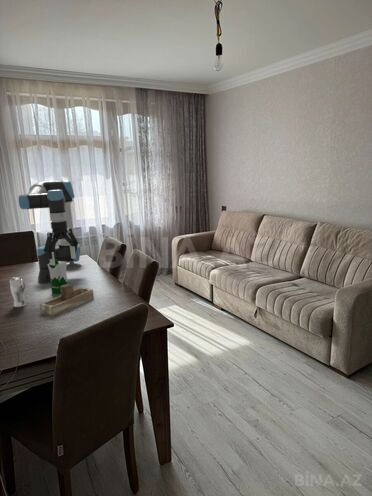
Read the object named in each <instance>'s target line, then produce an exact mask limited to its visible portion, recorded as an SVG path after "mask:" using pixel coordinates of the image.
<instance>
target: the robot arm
mask: <svg viewBox="0 0 372 496" xmlns="http://www.w3.org/2000/svg"><path fill="white" fill-rule="evenodd" d="M74 199H75V193H74V189H73V184H72V182H71V181H70V180H69V179H55V180H43V181H39V182H36V183H34V184H32V185H31V186H30V188H29V191H28V193H27V194H25V193H24V194H19V195H18V205H19V208H20V209H21V210H34V209H35V210H36V209H48V211H49V212H48V213H49V221H50V227H51V230H52V232H49V231H48V232H47V234H46V236H47V237H46V241H45V244H44V245H42V246H40V247H37V249H36V250H37V251H36V252H37V253H36V256H37V259H38V261H37V262H38V268H39V271H38V277H37V282H38V283H40V284H51V278H50V271H49V268H48V265H47V264H50V265H55V260H58V261H63V262H67V264H70V262H74V263H78V262H79V261H80V258H81V245H80V244H78V243H79V242H78V240H77V238H76V236H75V232H74V231H75V230H74V224H73V215H72V206H71V205H72V202H73V201H74ZM59 240H60V241H59ZM58 241H59V243H58ZM57 243H58V245H57Z"/></svg>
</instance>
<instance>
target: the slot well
mask: <svg viewBox="0 0 372 496" xmlns="http://www.w3.org/2000/svg"><path fill="white" fill-rule="evenodd" d="M73 292H74V297H72V298H70V299H68V300H65V301H63V302H62V298H61V295H59V296H57V297H56V296H55V297H54V298H51V299H49V300H45V301H44V302H42V303H39V308H40V313H41V315H46V316H49V317H56V316H59V315H61V314H63V313H65V312H67V311H69V310H71V309H73V308H75V307H78V306H79V305H82V304H84V303H87V302H88V301H90V299H91V300H92V299H95V296H94V289H91V288H86V287H81V286H80V287H78V288H75V289H73Z"/></svg>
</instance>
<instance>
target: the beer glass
mask: <svg viewBox="0 0 372 496" xmlns="http://www.w3.org/2000/svg"><path fill="white" fill-rule="evenodd" d="M25 286H26V285H25V281H24V277H23V276H15V277H12V278H9V287H10V292H11V295H12V298H13V307H14V308H23V307H25V306H26V305H27V300H26V298H25V294H26V287H25Z"/></svg>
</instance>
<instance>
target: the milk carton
mask: <svg viewBox="0 0 372 496" xmlns="http://www.w3.org/2000/svg"><path fill="white" fill-rule="evenodd" d="M67 264H68V263H67V262H63V261H58V260H55V265H50V264H47V265H48V268H49V271H50V278H51V283H50V285H51V294H54V295H61V290H60V286H62V285H65V284H69V282H68V274H67V268H66V265H67Z"/></svg>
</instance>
